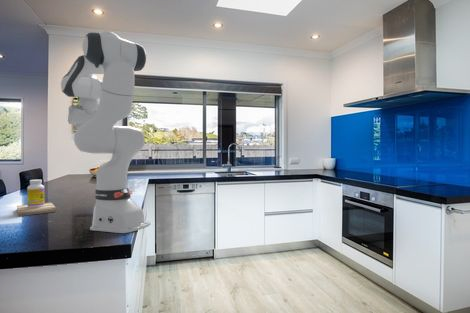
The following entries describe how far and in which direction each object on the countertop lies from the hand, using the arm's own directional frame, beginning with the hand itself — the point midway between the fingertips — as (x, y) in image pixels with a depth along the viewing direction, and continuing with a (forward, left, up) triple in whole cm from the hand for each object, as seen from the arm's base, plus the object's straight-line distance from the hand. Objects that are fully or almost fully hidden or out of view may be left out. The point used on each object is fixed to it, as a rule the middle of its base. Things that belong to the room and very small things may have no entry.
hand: (89, 134), depth 141 cm
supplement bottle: (+14, +18, -35) cm, 42 cm away
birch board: (+14, +18, -37) cm, 44 cm away
